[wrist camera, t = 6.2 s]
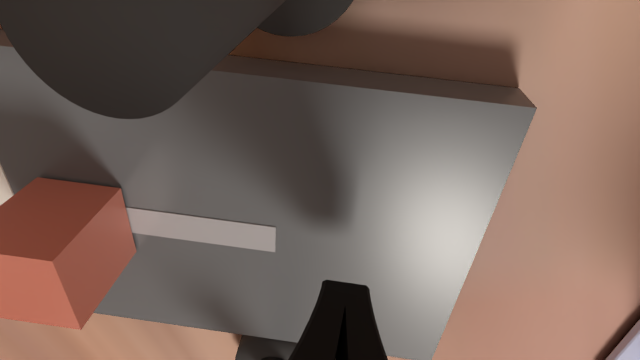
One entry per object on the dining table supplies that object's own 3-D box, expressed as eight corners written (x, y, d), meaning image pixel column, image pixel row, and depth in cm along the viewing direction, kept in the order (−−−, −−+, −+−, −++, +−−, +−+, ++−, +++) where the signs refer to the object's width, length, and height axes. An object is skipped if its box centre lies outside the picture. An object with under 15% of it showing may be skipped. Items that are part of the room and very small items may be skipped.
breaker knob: (120, 188, 13) (52, 261, 11) (136, 251, 15) (80, 329, 12) (37, 177, 14) (-54, 246, 11) (62, 240, 15) (-11, 316, 12)
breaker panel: (519, 88, 12) (537, 108, 10) (426, 332, 18) (430, 362, 17) (-110, 16, 13) (-164, 27, 11) (19, 274, 19) (-6, 299, 18)
